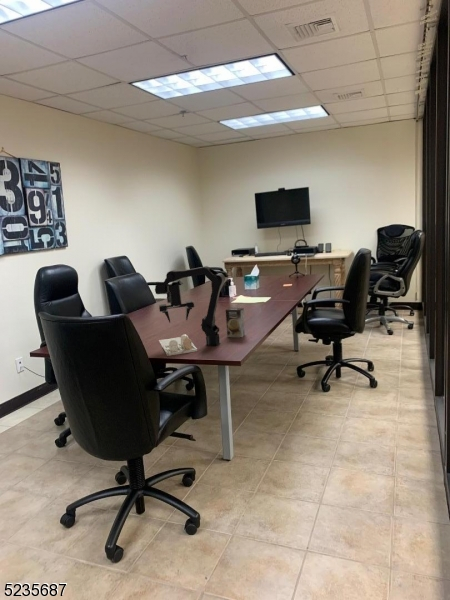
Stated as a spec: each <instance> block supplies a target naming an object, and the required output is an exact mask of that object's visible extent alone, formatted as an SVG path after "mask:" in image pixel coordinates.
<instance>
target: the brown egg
mask: <svg viewBox="0 0 450 600" xmlns="http://www.w3.org/2000/svg"><path fill="white" fill-rule="evenodd" d="M192 343H193V341H192V339H191V338H185V339H184V340H183V347H184V351H185V350H192Z"/></svg>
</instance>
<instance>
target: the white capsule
mask: <svg viewBox="0 0 450 600" xmlns="http://www.w3.org/2000/svg"><path fill="white" fill-rule="evenodd" d="M169 349H170V353H172V352H178V343H177V341H176V340H171V341H170V342H169Z"/></svg>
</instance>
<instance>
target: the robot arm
mask: <svg viewBox="0 0 450 600" xmlns="http://www.w3.org/2000/svg"><path fill="white" fill-rule="evenodd" d="M201 275H204V276H205V277H206V278H207V279H208V281H210V282H211V284H210V285H211V293H210V297H209V298H210V299H209V304H208V307H207V311H206V312H207V313H206V315H205V316H204V317H202V319H201V324H200V326H201V330H202V332H204V334H205V340H206V344H205V346H206V347H207V346H208V347H215V348H216V347H217V346H219V345H221V344H222V342H220V334H219V332H220V327H219V326H217V325H216V316H215V315H216V311H217V306H218V303H219V302H218V301H219V297H220V292H221V291H222V289H223V286H224V284H225V281H226V277H225V275H224V274H223V273H219V272H218V271H216V270H214V269H212V268H211V267H210V266H208V265H204V266H201V267H196V268H189V269H173V270H169V271H167V272H166V275H165V279H164V281H156V282H155V287H154V288H155V289H154V292H155V294H156V295H168V293H169V296H167V297H166V302H167V304H170V305H167V304H158V311H159V312H160V313H162V314H163V313H164V315H165V316H166V317H167V321H168V322H169V324H171V319H170V315H169V311H168V310H169V309H178V308H185V320H186V321H188V317H189V314H190V312H191V310H193V308H195V303H194V301H193V300H189V301H185V302H184V303H182V296H181V288H180V286H182V285H184V283H183V282H182V281H181V279H184V278H188V277H189V278H191V277H195V276H201Z"/></svg>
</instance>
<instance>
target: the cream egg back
mask: <svg viewBox="0 0 450 600" xmlns="http://www.w3.org/2000/svg"><path fill="white" fill-rule="evenodd" d="M180 337H181V338H180V339H181V347H183V340H184V339H185V338H189V336H188V334H181V336H180Z"/></svg>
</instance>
